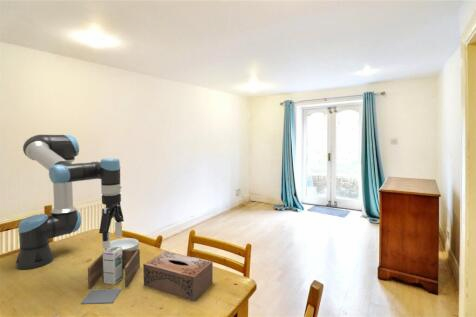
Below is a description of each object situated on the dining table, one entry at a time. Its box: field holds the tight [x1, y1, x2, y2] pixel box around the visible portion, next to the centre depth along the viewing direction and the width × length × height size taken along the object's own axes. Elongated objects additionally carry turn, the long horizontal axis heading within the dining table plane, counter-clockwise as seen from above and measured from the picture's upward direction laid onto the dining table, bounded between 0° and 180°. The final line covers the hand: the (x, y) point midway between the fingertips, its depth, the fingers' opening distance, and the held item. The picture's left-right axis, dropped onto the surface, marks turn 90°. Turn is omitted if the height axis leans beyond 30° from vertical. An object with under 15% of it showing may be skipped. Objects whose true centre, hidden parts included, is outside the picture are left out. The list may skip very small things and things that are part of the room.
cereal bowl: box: [104, 237, 140, 251], centre depth 142 cm, size 17×17×7 cm
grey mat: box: [79, 288, 122, 305], centre depth 105 cm, size 12×9×1 cm
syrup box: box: [102, 247, 124, 285], centre depth 117 cm, size 6×6×14 cm
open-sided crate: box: [87, 248, 141, 290], centre depth 120 cm, size 16×18×9 cm
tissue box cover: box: [142, 250, 214, 302], centre depth 114 cm, size 26×14×10 cm, turn 66°
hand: (112, 241), depth 116 cm, fingers open, 13 cm apart
